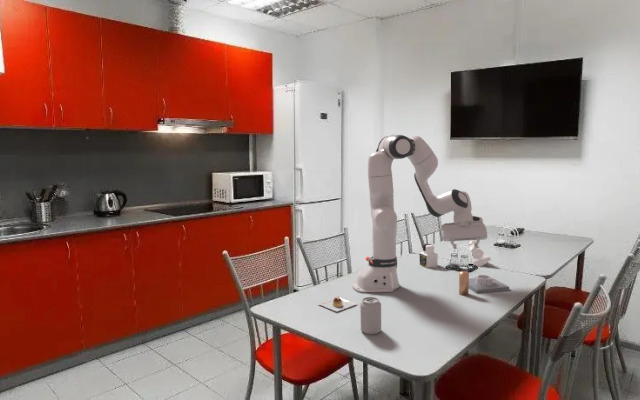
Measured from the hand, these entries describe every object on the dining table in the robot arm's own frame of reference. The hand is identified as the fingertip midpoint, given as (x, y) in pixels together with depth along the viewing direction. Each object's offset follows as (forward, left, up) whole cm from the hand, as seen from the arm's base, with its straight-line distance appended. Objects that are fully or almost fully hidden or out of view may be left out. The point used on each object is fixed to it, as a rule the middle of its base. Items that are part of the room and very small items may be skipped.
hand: (465, 247), depth 196 cm
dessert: (-64, -9, -19) cm, 67 cm away
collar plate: (+8, -4, -18) cm, 20 cm away
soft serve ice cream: (+24, +31, -18) cm, 43 cm away
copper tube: (-6, -11, -18) cm, 22 cm away
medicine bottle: (-2, +34, -18) cm, 39 cm away
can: (-57, -37, -18) cm, 71 cm away
